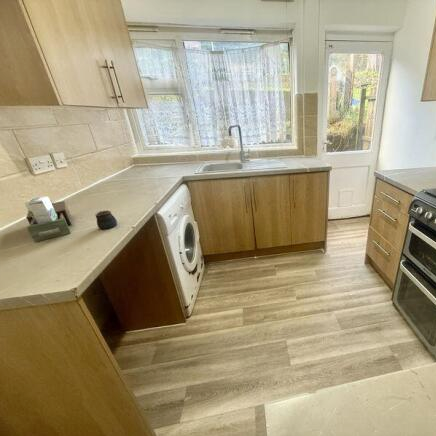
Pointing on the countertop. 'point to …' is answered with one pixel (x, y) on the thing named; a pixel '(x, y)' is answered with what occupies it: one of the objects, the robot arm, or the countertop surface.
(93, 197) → the countertop surface
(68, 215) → the cabinet
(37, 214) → the syrup box
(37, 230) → the drawer
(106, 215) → the mate gourd
